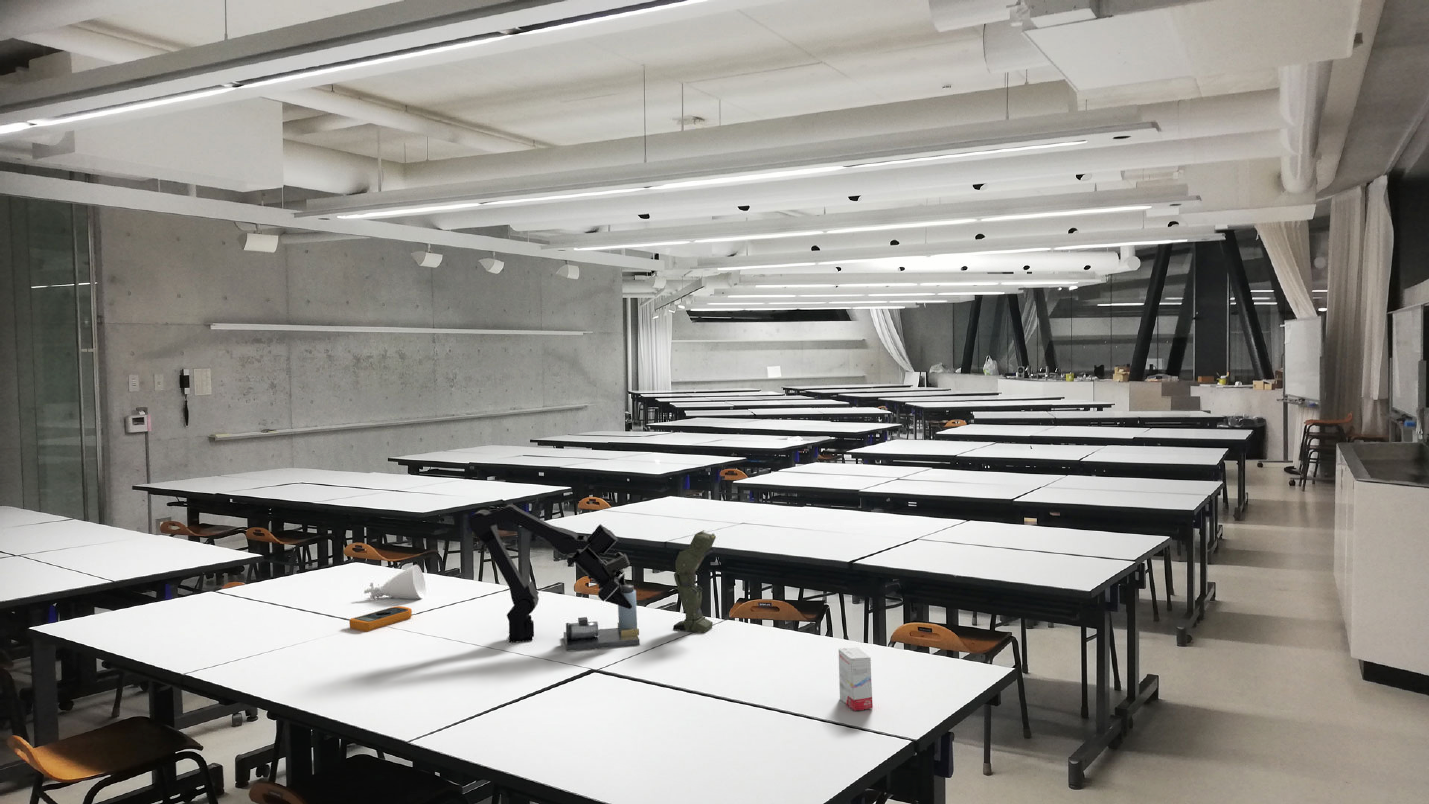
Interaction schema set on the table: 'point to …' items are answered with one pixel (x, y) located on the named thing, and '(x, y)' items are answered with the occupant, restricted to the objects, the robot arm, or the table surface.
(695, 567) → the mechanical leg
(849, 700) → the ink box
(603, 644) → the plate
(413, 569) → the rocket engine
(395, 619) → the multimeter
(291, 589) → the table surface
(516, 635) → the robot arm
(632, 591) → the bottle
